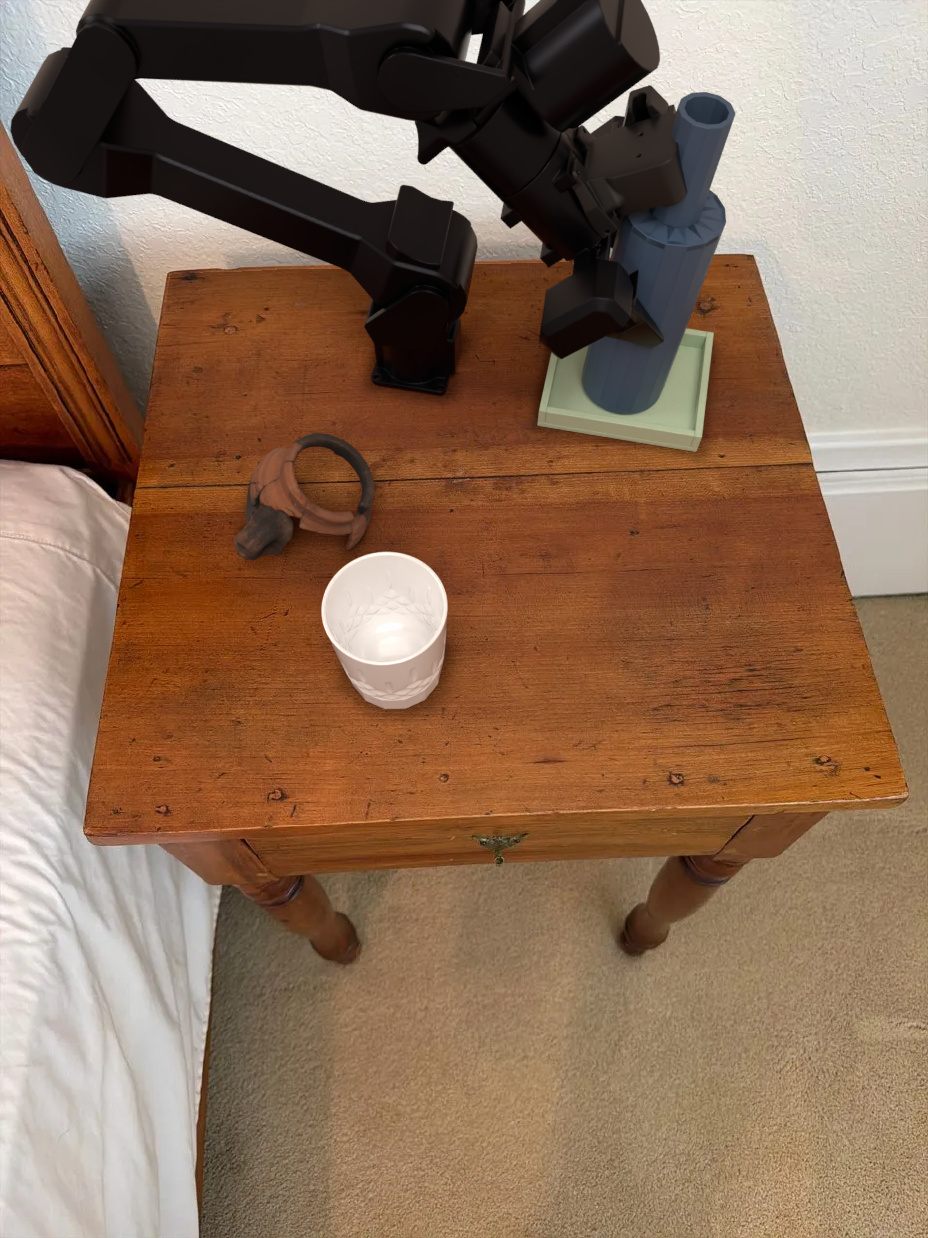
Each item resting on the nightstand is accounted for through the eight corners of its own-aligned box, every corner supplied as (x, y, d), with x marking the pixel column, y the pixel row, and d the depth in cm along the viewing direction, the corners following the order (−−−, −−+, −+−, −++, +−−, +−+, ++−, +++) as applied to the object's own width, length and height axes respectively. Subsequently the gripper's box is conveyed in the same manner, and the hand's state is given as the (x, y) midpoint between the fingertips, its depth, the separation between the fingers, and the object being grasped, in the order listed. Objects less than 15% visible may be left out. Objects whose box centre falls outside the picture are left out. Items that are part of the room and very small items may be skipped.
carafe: (621, 427, 72) (710, 162, 51) (565, 376, 74) (627, 101, 53) (678, 388, 74) (786, 117, 53) (621, 339, 77) (703, 60, 55)
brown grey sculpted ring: (278, 454, 73) (316, 399, 66) (364, 532, 74) (409, 485, 68) (184, 543, 66) (216, 491, 59) (282, 627, 67) (324, 585, 61)
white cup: (437, 728, 62) (432, 675, 53) (329, 706, 63) (306, 651, 54) (460, 628, 65) (459, 562, 56) (357, 609, 66) (339, 541, 57)
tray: (537, 425, 73) (538, 410, 72) (558, 325, 78) (560, 308, 76) (696, 452, 72) (702, 437, 70) (708, 348, 77) (713, 332, 75)
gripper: (617, 192, 48) (759, 358, 57) (640, -11, 56) (762, 164, 65) (472, 287, 56) (618, 420, 65) (510, 96, 63) (636, 239, 73)
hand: (661, 306), depth 67 cm, fingers closed on carafe, 7 cm apart
